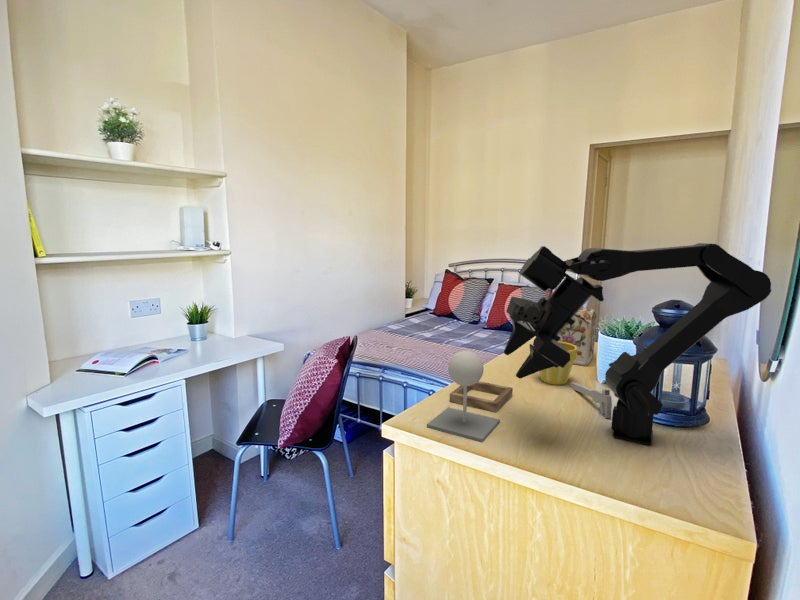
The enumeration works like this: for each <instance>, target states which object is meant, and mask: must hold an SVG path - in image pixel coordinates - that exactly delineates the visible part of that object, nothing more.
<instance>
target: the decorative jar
mask: <svg viewBox="0 0 800 600" xmlns="http://www.w3.org/2000/svg"><path fill="white" fill-rule="evenodd" d="M572 319H573V320H574V321H575V323H574V324H573V325H570V324H569V323H567V325H566V326H565V327H564V328H563V329H562V330H561V331H560V333H559V334H558V335H559V336H560V340H559V341H560V342H566V343H570V344H573V345H575V346H576V347H577V357H576V360H575V361H574V362H573V364H572V365H576V366H583V367H588V366H589V364H590V363H591V361H592V360H593V358H594V354H595V344H596V343H595V341H596V320H597V314H596V311H595V309H593V308H589V307H584V305H583V306H582V307H581V309H580V310H579V311H578V312H577V313H576V314H575V315H574V317H573V318H572Z"/></svg>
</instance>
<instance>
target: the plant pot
mask: <svg viewBox="0 0 800 600" xmlns="http://www.w3.org/2000/svg"><path fill="white" fill-rule="evenodd" d="M558 342H559V343H560V344H562V345H563V346H564V347H565V349H566V350H567V351H568V352H569V353H570V361H569V362H568V364H567V365H566V366H565V367H564V368H562V367H560V366H559V367H557V368H556V367H551V368H548V369H544V370H541V371H539V375H540V380H541V381H542V382H544V383H545V384H550V385H555V386H559V385H565V384H567V383H568V380H569V377H570V374H571V370H572V366H573V365H574V364H573V362H574V361H575V360H576V357H577V347H576V346H575V345H573V344H570V343H566V342H560V341H558Z"/></svg>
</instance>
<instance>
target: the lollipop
mask: <svg viewBox="0 0 800 600" xmlns="http://www.w3.org/2000/svg"><path fill="white" fill-rule="evenodd" d="M484 367H485V366H484V364H483V361H482V359H481V358H480V356H478V354H477V353H475V352H472V351H469V350H463V351H458V352H456V353H455V354H454V355H452V357H451V358H450V359H449V362H448V366H447V369H448V370H447V372H448V374H449V377H450V379H451V380H452V382H453V383H455V384H457V385H458V386H464V395H463V405H462V407H463V408H462V411H463V422H466V412H467V407H468V406H467V395H468V392H467V386H472V385H474V384H476V383H477V382H479V381H480V380H481V379H482V377H483V376H484Z"/></svg>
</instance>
